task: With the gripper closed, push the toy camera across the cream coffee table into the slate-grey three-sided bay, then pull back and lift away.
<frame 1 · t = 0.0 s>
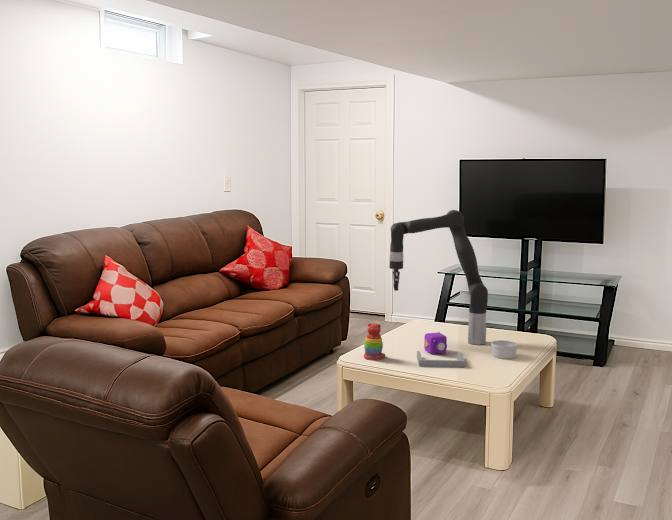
hand: (395, 289, 384), 29 cm above the table, fingers open, 8 cm apart
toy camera: (436, 353, 366), on the table
ramekin: (503, 356, 360), on the table
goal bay: (439, 361, 349), on the table
stacking bear: (373, 358, 355), on the table
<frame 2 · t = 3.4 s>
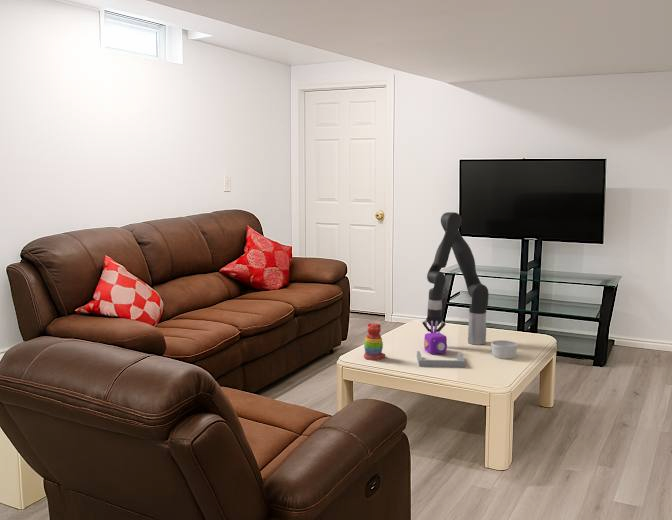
hand: (433, 339, 379), 4 cm above the table, fingers closed
nothing on the table moved.
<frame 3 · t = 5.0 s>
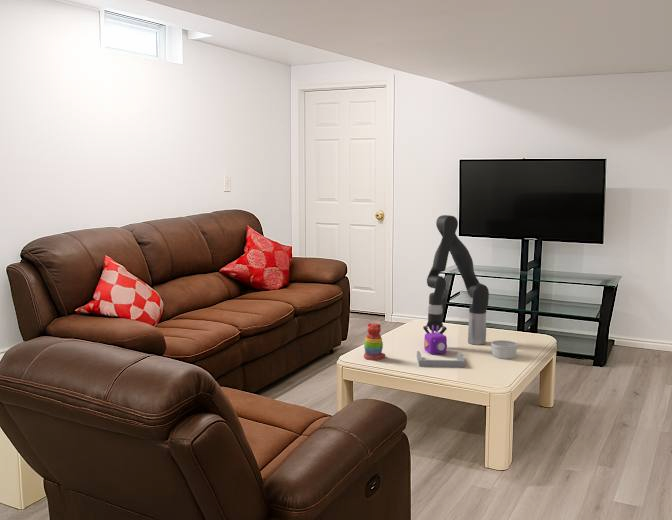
hand: (434, 343, 377), 2 cm above the table, fingers closed
nothing on the table moved.
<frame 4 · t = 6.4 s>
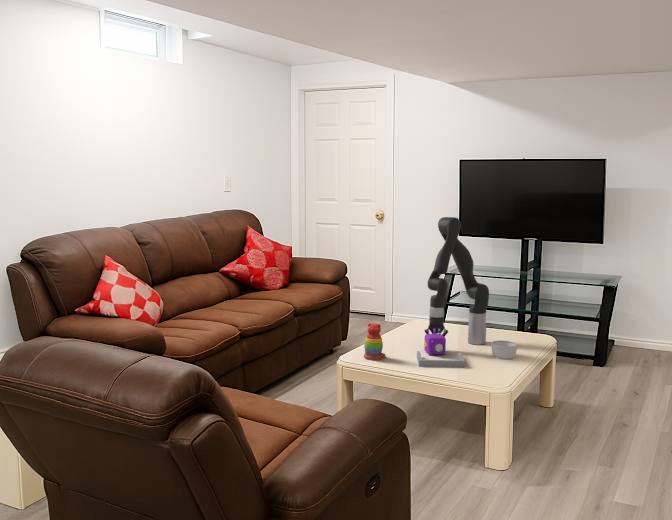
hand: (435, 347, 371), 2 cm above the table, fingers closed
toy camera: (435, 354, 363), on the table, touching gripper, hand
everything else where it was.
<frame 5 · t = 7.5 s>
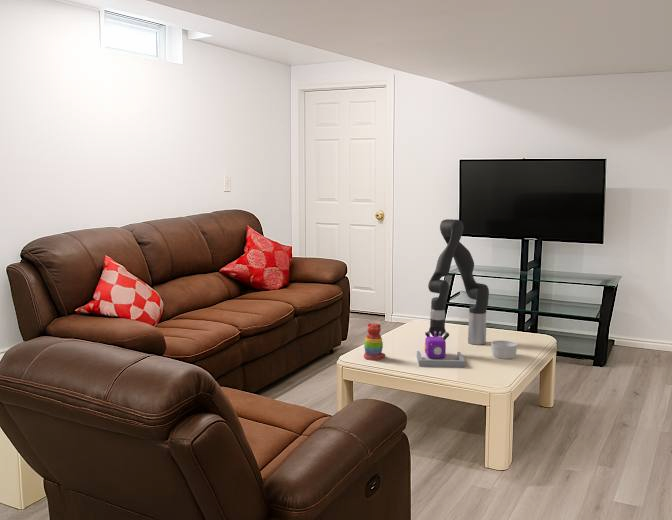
hand: (436, 350, 364), 2 cm above the table, fingers closed
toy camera: (435, 357, 357), on the table, touching gripper
everything else where it was.
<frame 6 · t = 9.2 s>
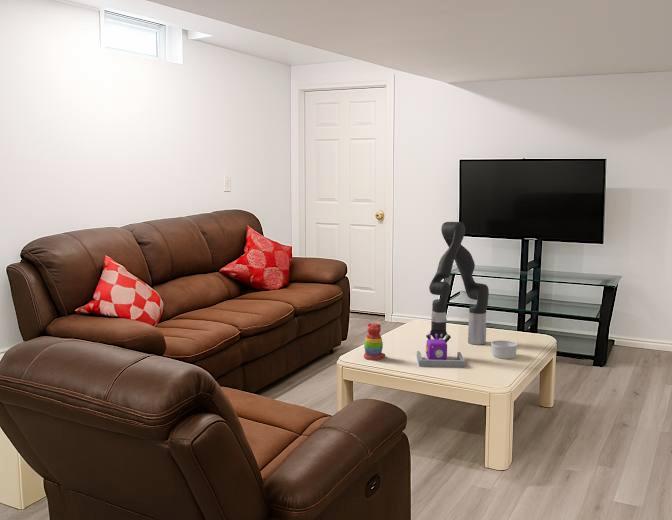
hand: (437, 353, 359), 1 cm above the table, fingers closed
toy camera: (437, 360, 352), on the table, touching gripper, hand
everything else where it was.
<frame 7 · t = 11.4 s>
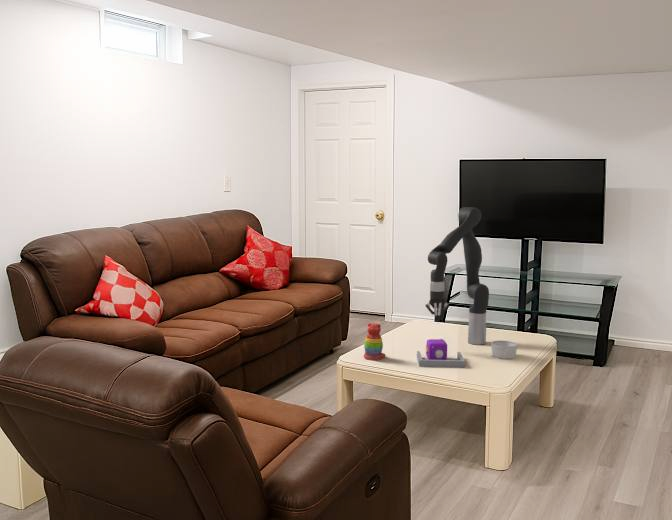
hand: (437, 321, 368), 15 cm above the table, fingers closed
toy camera: (437, 360, 352), on the table
everything else where it was.
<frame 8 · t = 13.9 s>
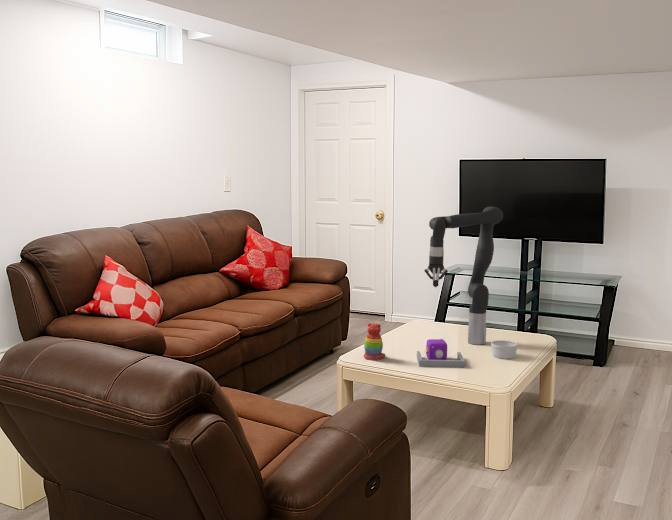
hand: (435, 286, 377), 32 cm above the table, fingers closed
nothing on the table moved.
at the end: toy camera inside the target area on the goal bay (3.0 cm from its centre), point 0.0 cm above the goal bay's base; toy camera tilted 0°; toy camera moved 13.8 cm from its start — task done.
